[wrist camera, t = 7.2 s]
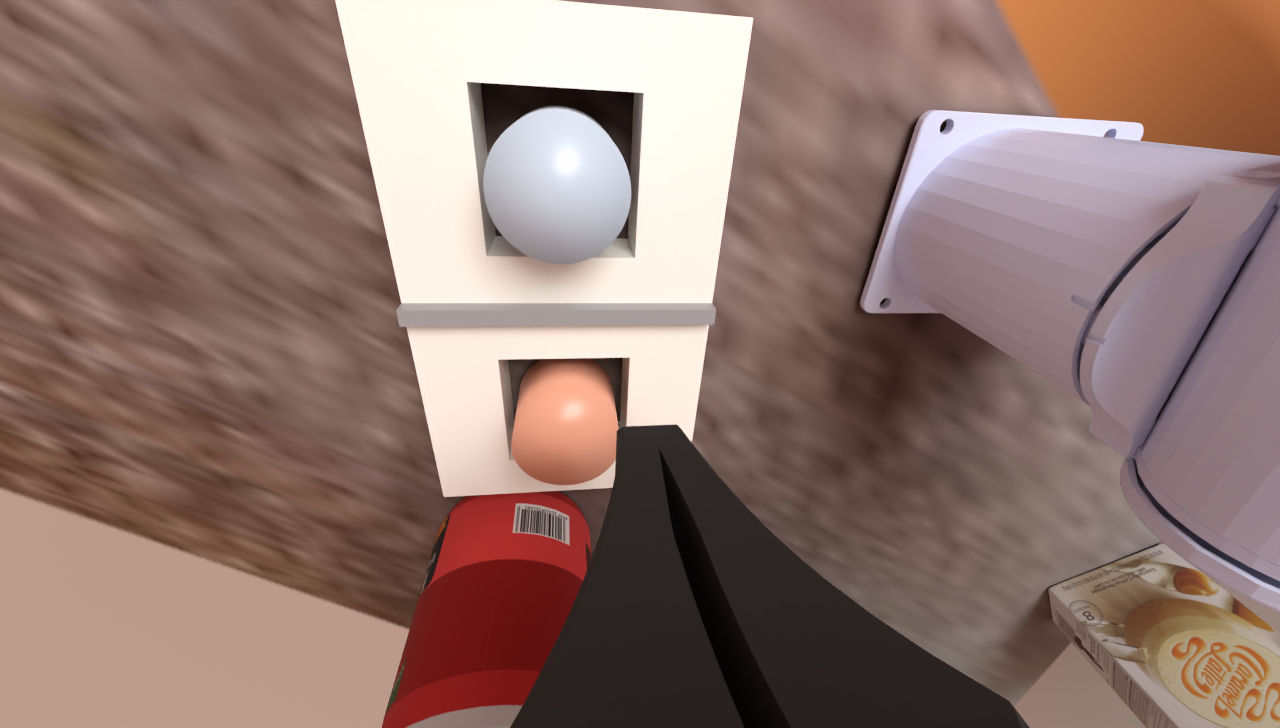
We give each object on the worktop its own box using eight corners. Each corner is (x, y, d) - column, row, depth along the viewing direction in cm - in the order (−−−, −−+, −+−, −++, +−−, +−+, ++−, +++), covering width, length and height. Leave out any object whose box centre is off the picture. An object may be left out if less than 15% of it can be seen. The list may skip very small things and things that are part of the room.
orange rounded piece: (613, 352, 20) (622, 400, 17) (611, 427, 22) (618, 482, 19) (516, 353, 19) (506, 404, 16) (522, 431, 21) (515, 488, 18)
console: (728, 25, 15) (760, 15, 13) (676, 450, 25) (688, 493, 22) (366, -5, 14) (320, -24, 11) (454, 459, 23) (440, 507, 20)
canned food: (414, 500, 24) (317, 768, 15) (566, 460, 24) (566, 703, 15) (474, 586, 28) (428, 840, 19) (605, 553, 28) (624, 789, 19)
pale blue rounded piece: (621, 108, 15) (634, 116, 12) (617, 233, 17) (628, 265, 14) (493, 101, 15) (474, 107, 12) (505, 230, 17) (491, 263, 14)
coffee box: (1166, 537, 35) (1540, 824, 22) (1161, 578, 39) (1484, 850, 25) (1044, 587, 37) (1323, 885, 23) (1048, 622, 40) (1296, 902, 26)
